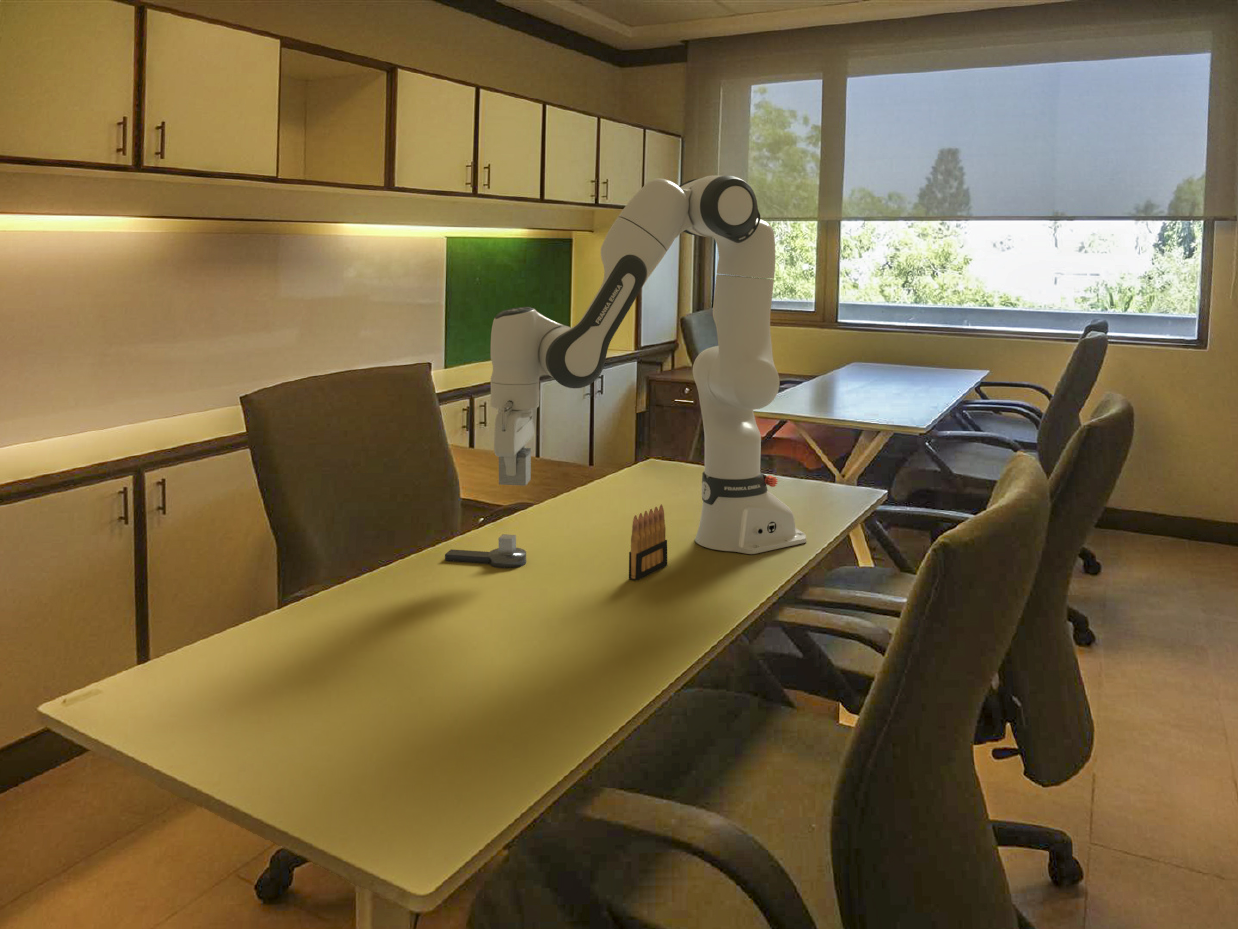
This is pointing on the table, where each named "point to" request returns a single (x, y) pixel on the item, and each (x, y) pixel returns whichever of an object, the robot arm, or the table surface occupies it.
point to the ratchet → (492, 555)
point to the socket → (522, 469)
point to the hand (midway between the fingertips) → (515, 471)
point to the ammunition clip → (648, 544)
